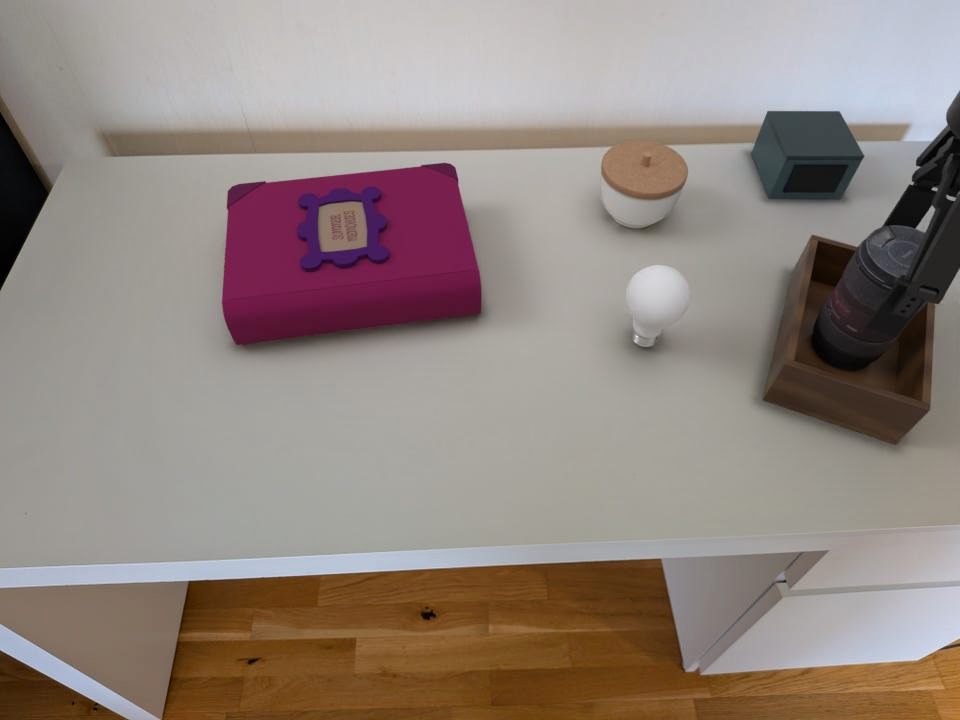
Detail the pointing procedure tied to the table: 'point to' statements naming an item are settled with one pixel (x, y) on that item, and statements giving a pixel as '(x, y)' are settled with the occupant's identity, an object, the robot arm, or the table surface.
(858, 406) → the wooden box
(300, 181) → the book
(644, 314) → the light bulb
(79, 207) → the table surface
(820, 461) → the table surface
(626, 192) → the trinket box
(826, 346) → the camera lens
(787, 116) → the cabinet block
